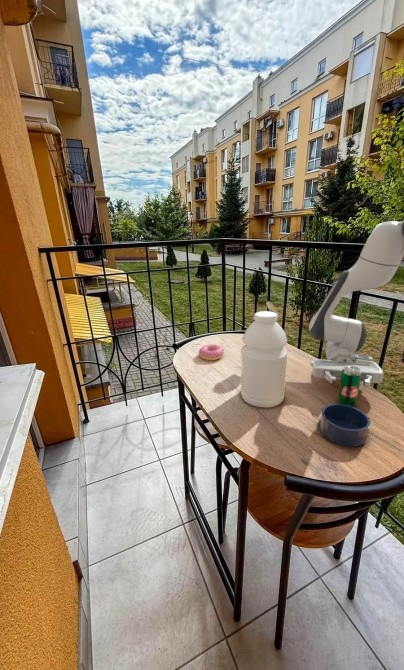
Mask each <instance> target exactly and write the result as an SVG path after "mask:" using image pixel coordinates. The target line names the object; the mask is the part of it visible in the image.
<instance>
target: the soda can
mask: <svg viewBox="0 0 404 670" xmlns="http://www.w3.org/2000/svg"><path fill="white" fill-rule="evenodd" d="M360 379H361V372H360V369H359V368H358V367H355V366H345V367H344V369H343V370H342V374H341V380H339V387H338V395H337V402H338V403H337V404H344V405H349V406H352V407H355V406H356V405H357V401H358V395H359V391H360V390H359V389H360V385H361V384H360V383H361V382H360Z"/></svg>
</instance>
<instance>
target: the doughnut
mask: <svg viewBox="0 0 404 670" xmlns="http://www.w3.org/2000/svg"><path fill="white" fill-rule="evenodd" d="M224 354H225V350H224V348H223V347H222V346H221V345H218V344H214V343H213V344H205V345H203V346H201V347H200V348H199V349H198V355H199V357H200V358H201V359H203V360H205V361H217V360H219V359H221V358H222V357H223V356H224Z"/></svg>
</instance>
